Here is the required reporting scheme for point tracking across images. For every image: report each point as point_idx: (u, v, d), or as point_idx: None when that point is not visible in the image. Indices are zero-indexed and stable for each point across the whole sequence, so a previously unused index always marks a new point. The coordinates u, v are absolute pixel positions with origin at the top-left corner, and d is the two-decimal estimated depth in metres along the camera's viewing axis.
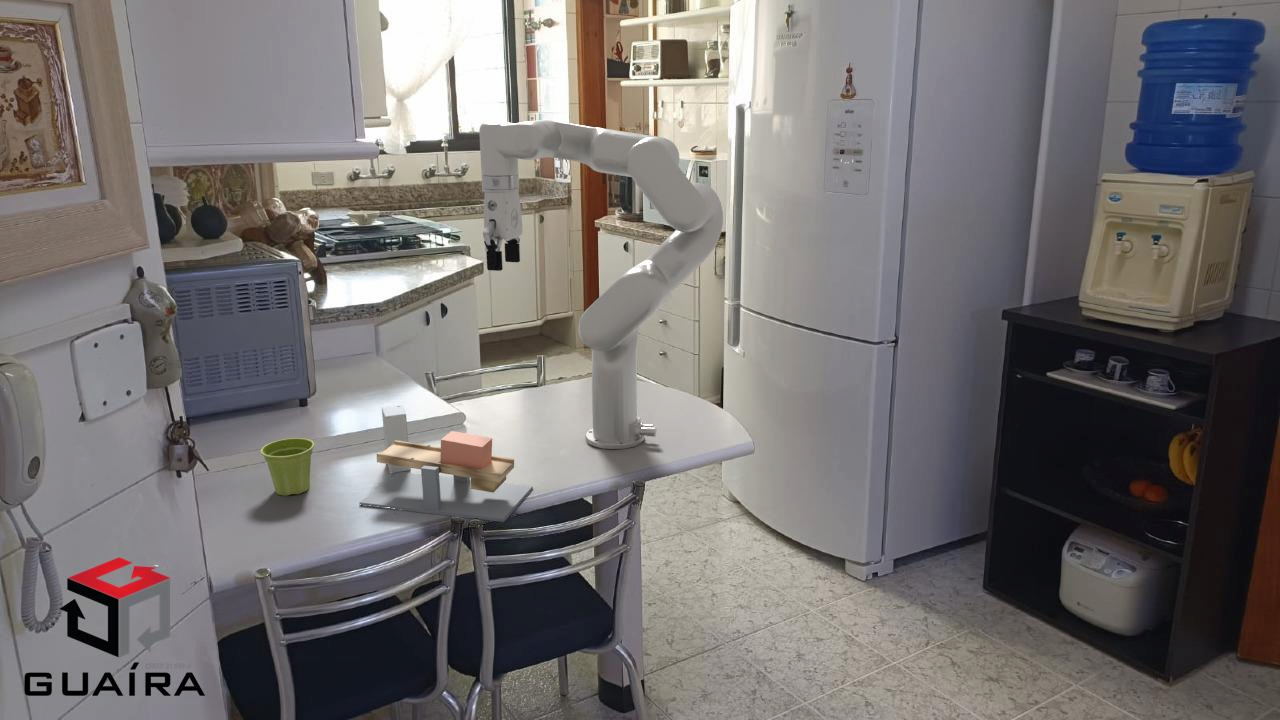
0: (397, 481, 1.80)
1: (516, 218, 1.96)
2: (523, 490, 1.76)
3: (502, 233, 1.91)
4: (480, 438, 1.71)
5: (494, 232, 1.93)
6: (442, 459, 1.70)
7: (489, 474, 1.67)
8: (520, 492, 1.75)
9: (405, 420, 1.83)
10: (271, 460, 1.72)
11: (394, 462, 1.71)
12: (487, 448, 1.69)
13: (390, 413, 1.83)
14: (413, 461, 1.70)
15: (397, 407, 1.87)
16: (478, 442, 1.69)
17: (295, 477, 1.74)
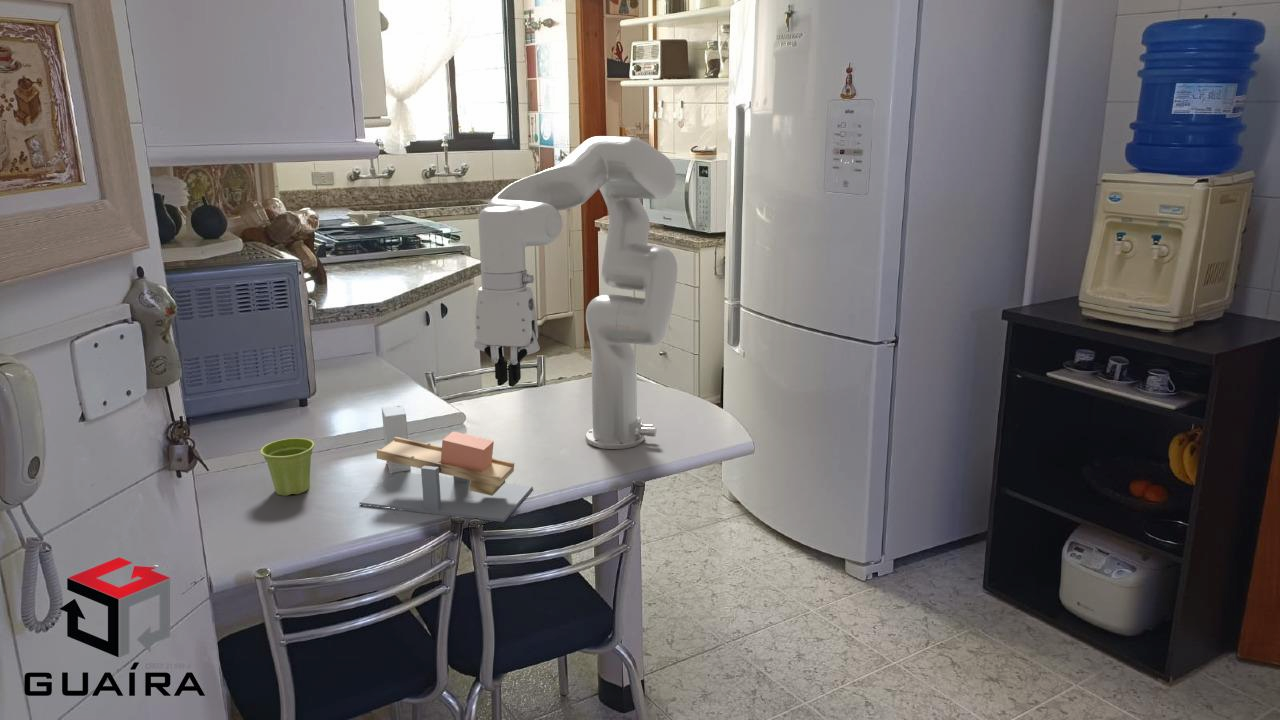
0: (397, 481, 1.80)
1: None
2: (523, 490, 1.76)
3: (537, 333, 1.63)
4: (482, 440, 1.71)
5: None
6: (442, 459, 1.70)
7: (489, 477, 1.67)
8: (520, 492, 1.75)
9: (405, 420, 1.83)
10: (271, 460, 1.72)
11: (394, 459, 1.71)
12: (488, 450, 1.70)
13: (390, 413, 1.83)
14: (413, 460, 1.70)
15: (397, 407, 1.87)
16: (479, 444, 1.69)
17: (295, 477, 1.74)
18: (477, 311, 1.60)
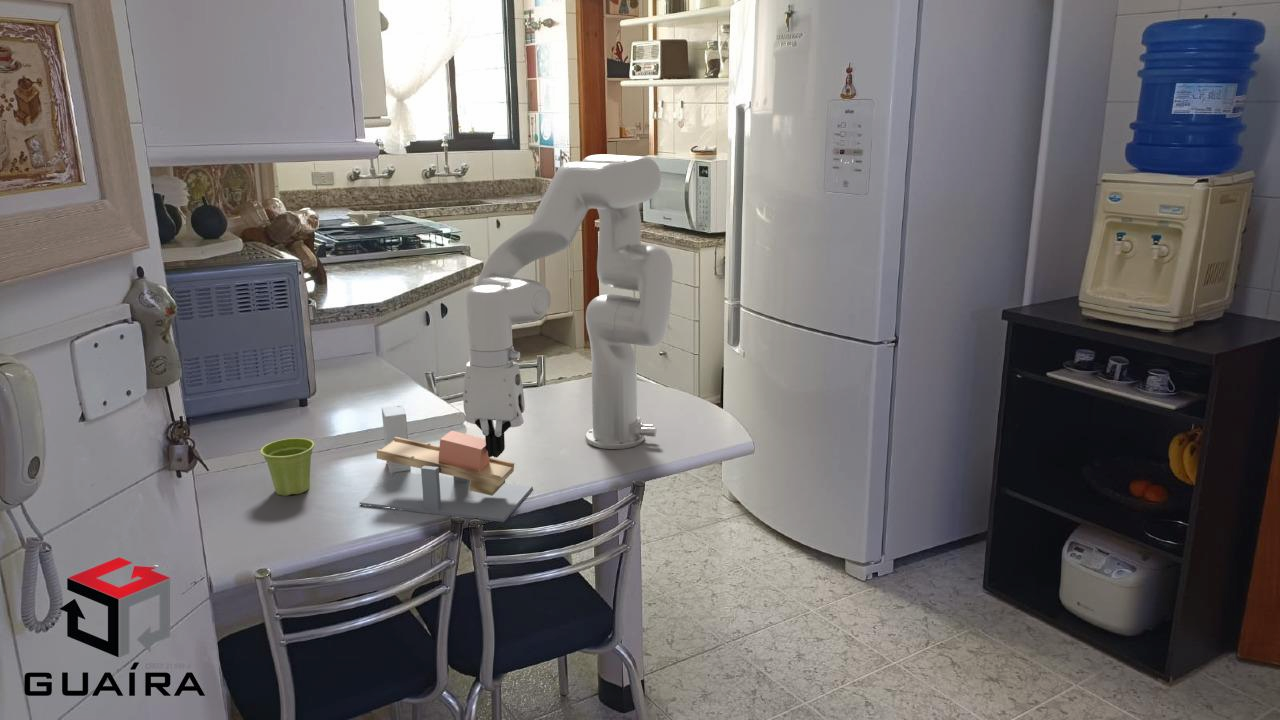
0: (397, 481, 1.80)
1: None
2: (523, 490, 1.76)
3: (524, 406, 1.67)
4: (479, 440, 1.71)
5: None
6: (440, 458, 1.70)
7: (489, 477, 1.67)
8: (520, 492, 1.75)
9: (405, 420, 1.83)
10: (271, 460, 1.72)
11: (394, 459, 1.71)
12: (486, 450, 1.70)
13: (390, 413, 1.83)
14: (413, 460, 1.70)
15: (397, 407, 1.87)
16: (477, 443, 1.69)
17: (295, 477, 1.74)
18: (465, 386, 1.64)
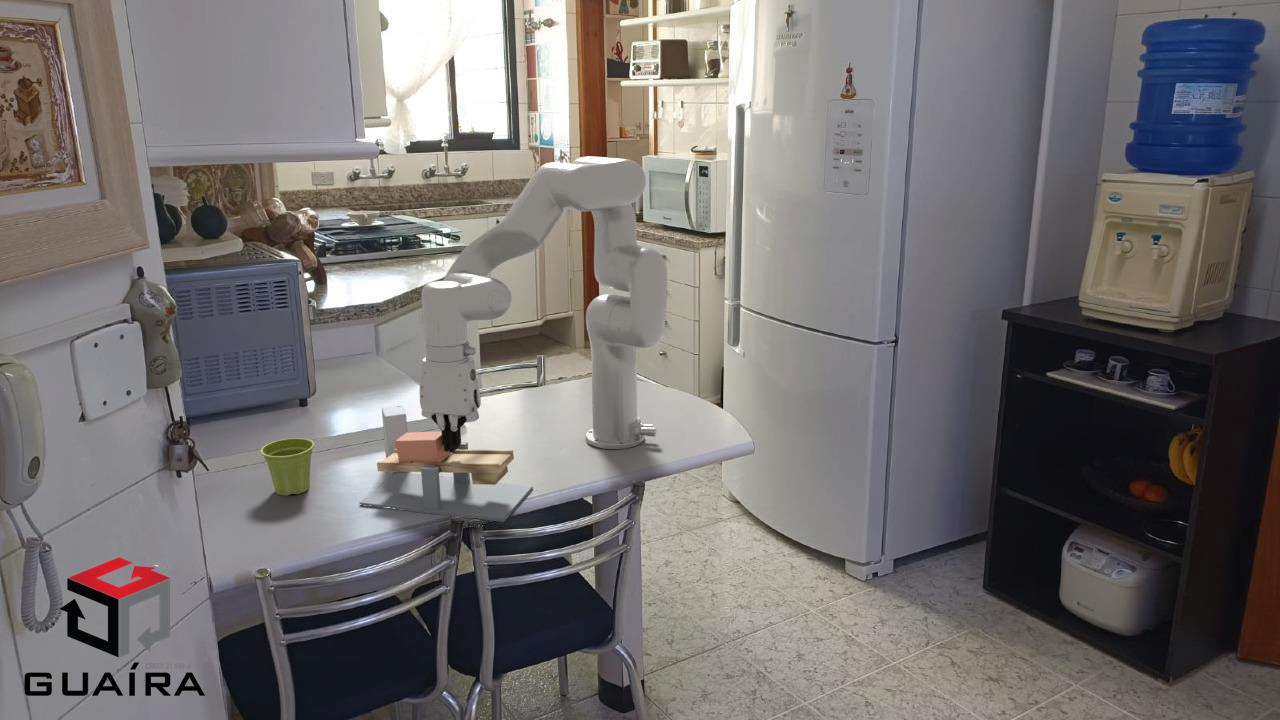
0: (397, 481, 1.80)
1: None
2: (523, 490, 1.76)
3: (480, 401, 1.69)
4: (434, 433, 1.72)
5: None
6: (400, 460, 1.71)
7: (488, 466, 1.66)
8: (520, 492, 1.75)
9: (405, 420, 1.83)
10: (271, 460, 1.72)
11: (395, 468, 1.71)
12: None
13: (390, 413, 1.83)
14: (413, 464, 1.70)
15: (397, 407, 1.87)
16: (431, 436, 1.70)
17: (295, 477, 1.74)
18: (421, 381, 1.66)
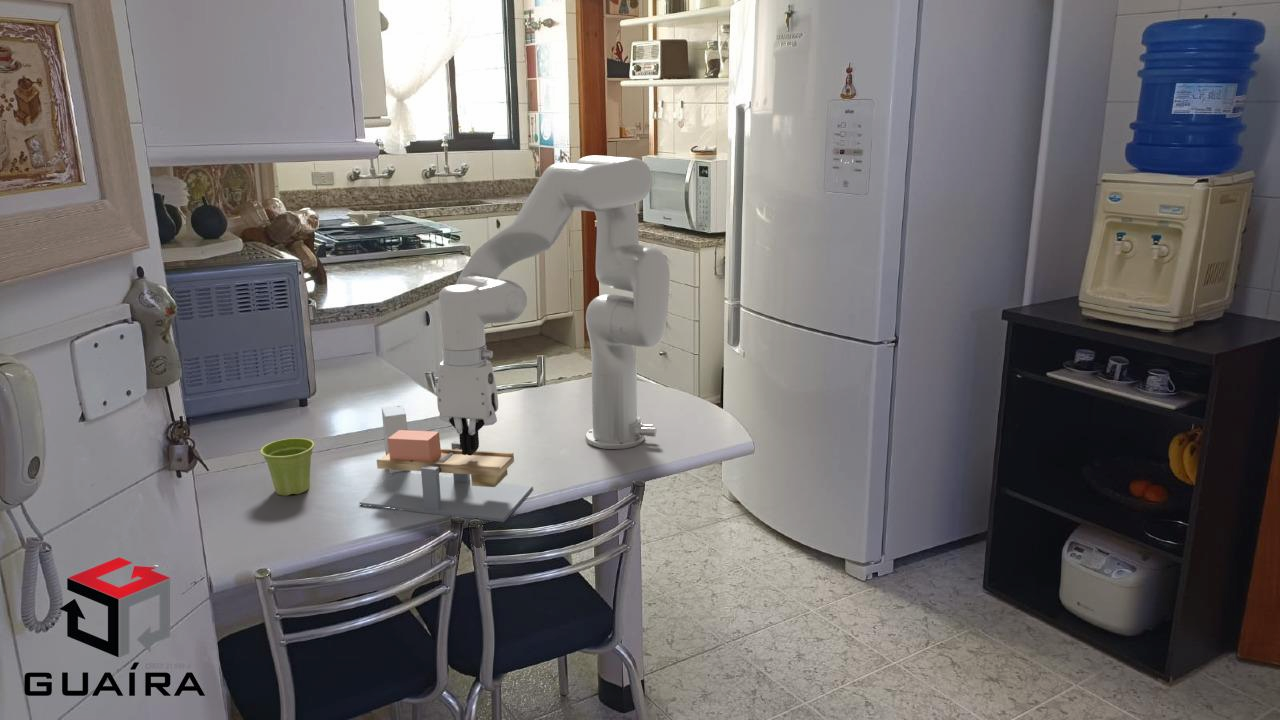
0: (397, 481, 1.80)
1: None
2: (523, 490, 1.76)
3: (497, 404, 1.69)
4: (427, 433, 1.73)
5: None
6: (391, 458, 1.72)
7: (489, 469, 1.66)
8: (520, 492, 1.75)
9: (405, 420, 1.83)
10: (271, 460, 1.72)
11: (394, 466, 1.71)
12: (434, 441, 1.71)
13: (390, 413, 1.83)
14: (413, 463, 1.70)
15: (397, 407, 1.87)
16: (424, 436, 1.71)
17: (295, 477, 1.74)
18: (439, 384, 1.66)
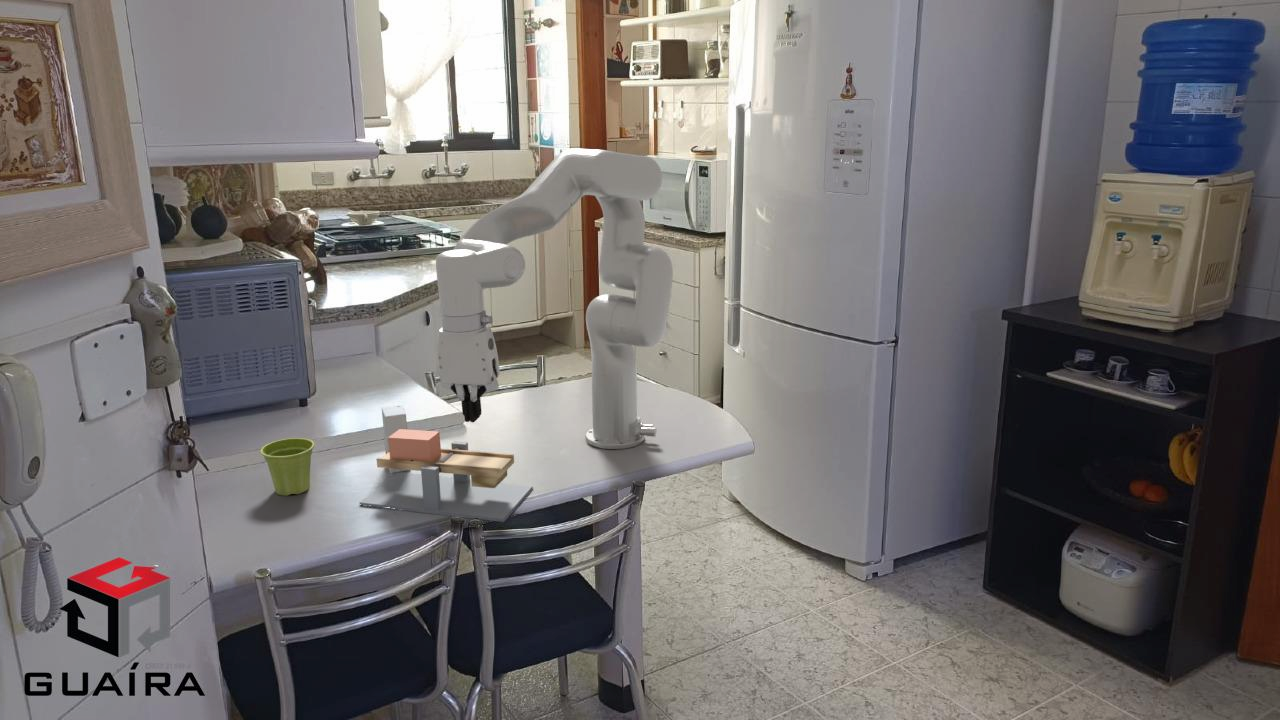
0: (397, 481, 1.80)
1: None
2: (523, 490, 1.76)
3: (499, 370, 1.67)
4: (427, 432, 1.73)
5: None
6: (391, 457, 1.72)
7: (489, 470, 1.67)
8: (520, 492, 1.75)
9: (405, 420, 1.83)
10: (271, 460, 1.72)
11: (394, 466, 1.71)
12: (434, 441, 1.71)
13: (390, 413, 1.83)
14: (413, 463, 1.70)
15: (397, 407, 1.87)
16: (424, 436, 1.71)
17: (295, 477, 1.74)
18: (439, 352, 1.64)
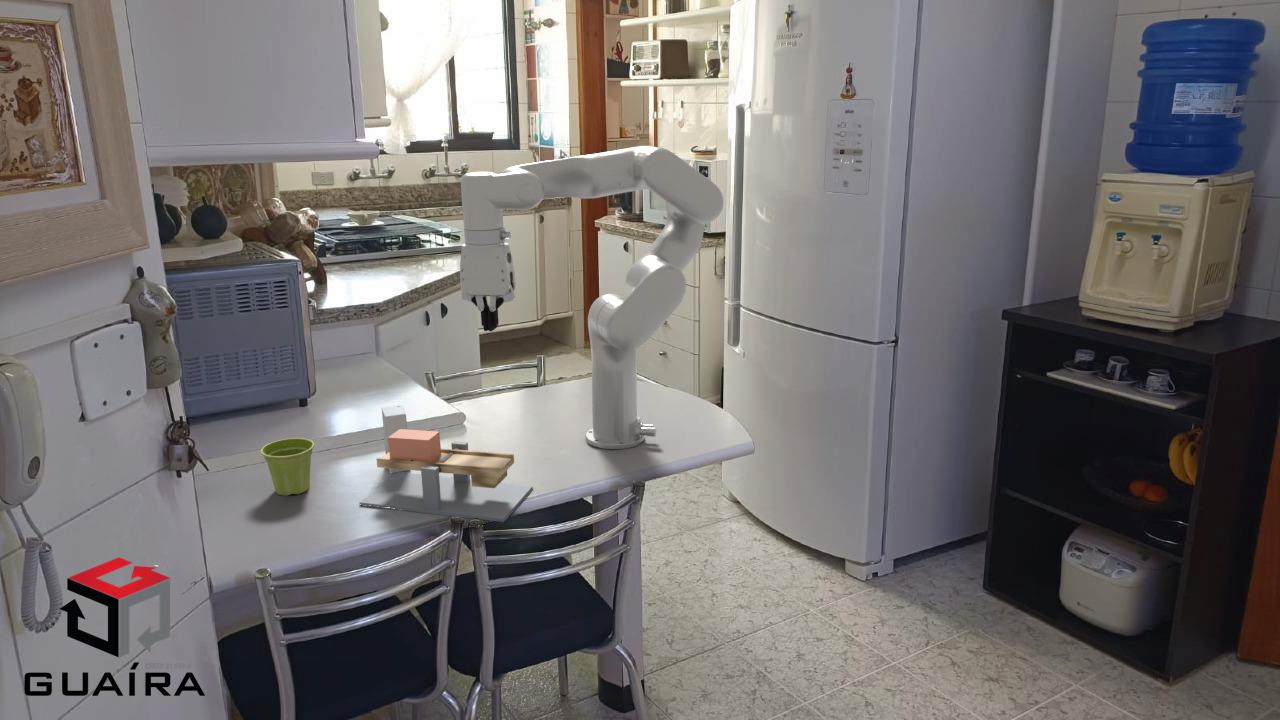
0: (397, 481, 1.80)
1: None
2: (523, 490, 1.76)
3: (515, 283, 1.85)
4: (427, 432, 1.73)
5: None
6: (391, 457, 1.72)
7: (489, 470, 1.67)
8: (520, 492, 1.75)
9: (405, 420, 1.83)
10: (271, 460, 1.72)
11: (394, 466, 1.71)
12: (434, 441, 1.71)
13: (390, 413, 1.83)
14: (413, 463, 1.70)
15: (397, 407, 1.87)
16: (424, 436, 1.71)
17: (295, 477, 1.74)
18: (461, 265, 1.82)
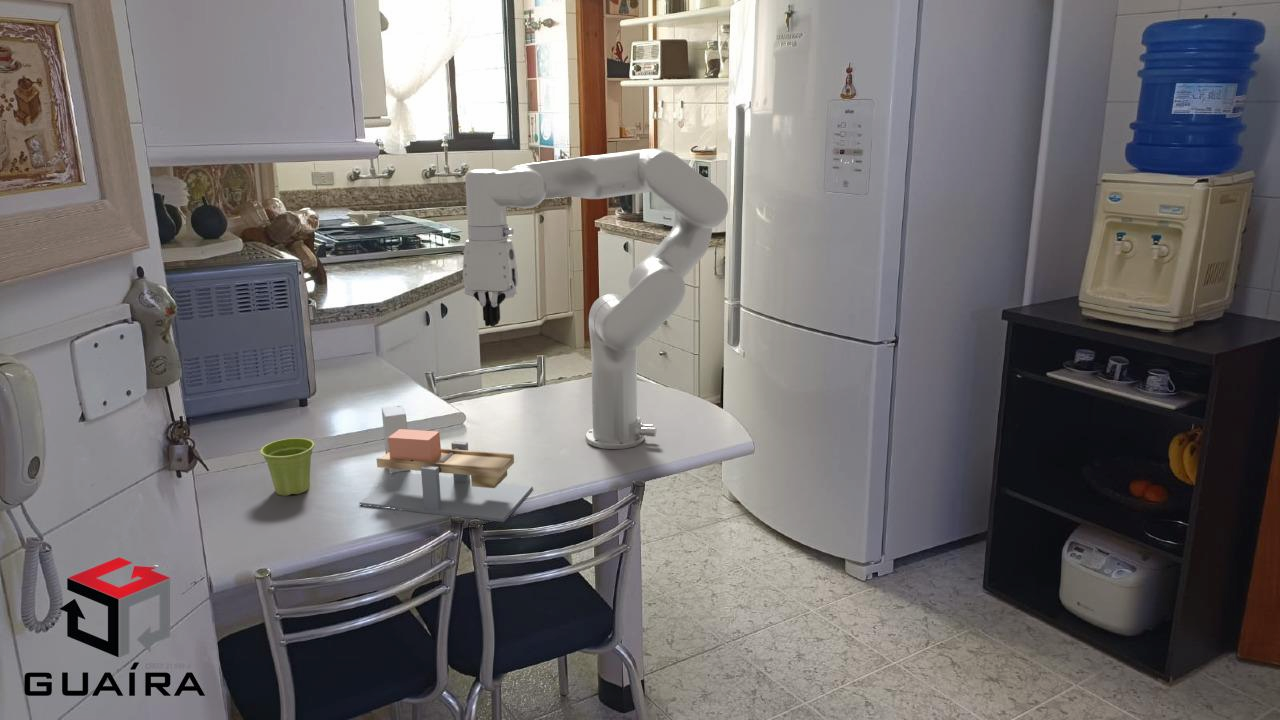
0: (397, 481, 1.80)
1: None
2: (523, 490, 1.76)
3: (517, 280, 1.87)
4: (427, 432, 1.73)
5: None
6: (391, 457, 1.72)
7: (489, 470, 1.67)
8: (520, 492, 1.75)
9: (405, 420, 1.83)
10: (271, 460, 1.72)
11: (394, 466, 1.71)
12: (434, 441, 1.71)
13: (390, 413, 1.83)
14: (413, 463, 1.70)
15: (397, 407, 1.87)
16: (424, 436, 1.71)
17: (295, 477, 1.74)
18: (464, 260, 1.84)
